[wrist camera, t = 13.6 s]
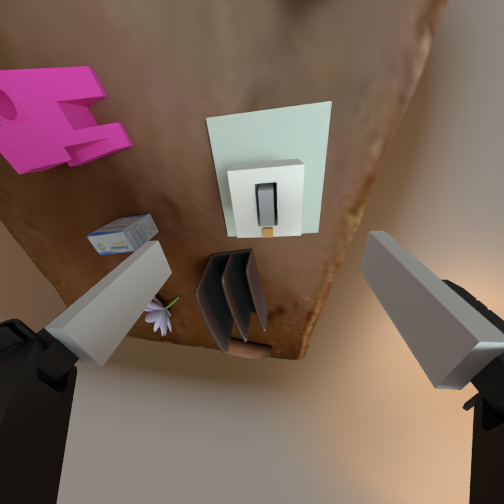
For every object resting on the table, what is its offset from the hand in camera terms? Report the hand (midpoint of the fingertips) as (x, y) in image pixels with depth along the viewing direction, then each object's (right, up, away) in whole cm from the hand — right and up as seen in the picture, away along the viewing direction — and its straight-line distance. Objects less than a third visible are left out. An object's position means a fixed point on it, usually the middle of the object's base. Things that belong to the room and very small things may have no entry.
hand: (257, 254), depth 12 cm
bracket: (-28, +22, +19) cm, 41 cm away
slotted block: (+2, +9, +14) cm, 17 cm away
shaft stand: (+3, +13, +21) cm, 25 cm away
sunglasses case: (-3, -31, +51) cm, 60 cm away
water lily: (-26, -13, +41) cm, 51 cm away
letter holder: (-3, -8, +35) cm, 36 cm away
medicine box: (-25, +6, +29) cm, 39 cm away
